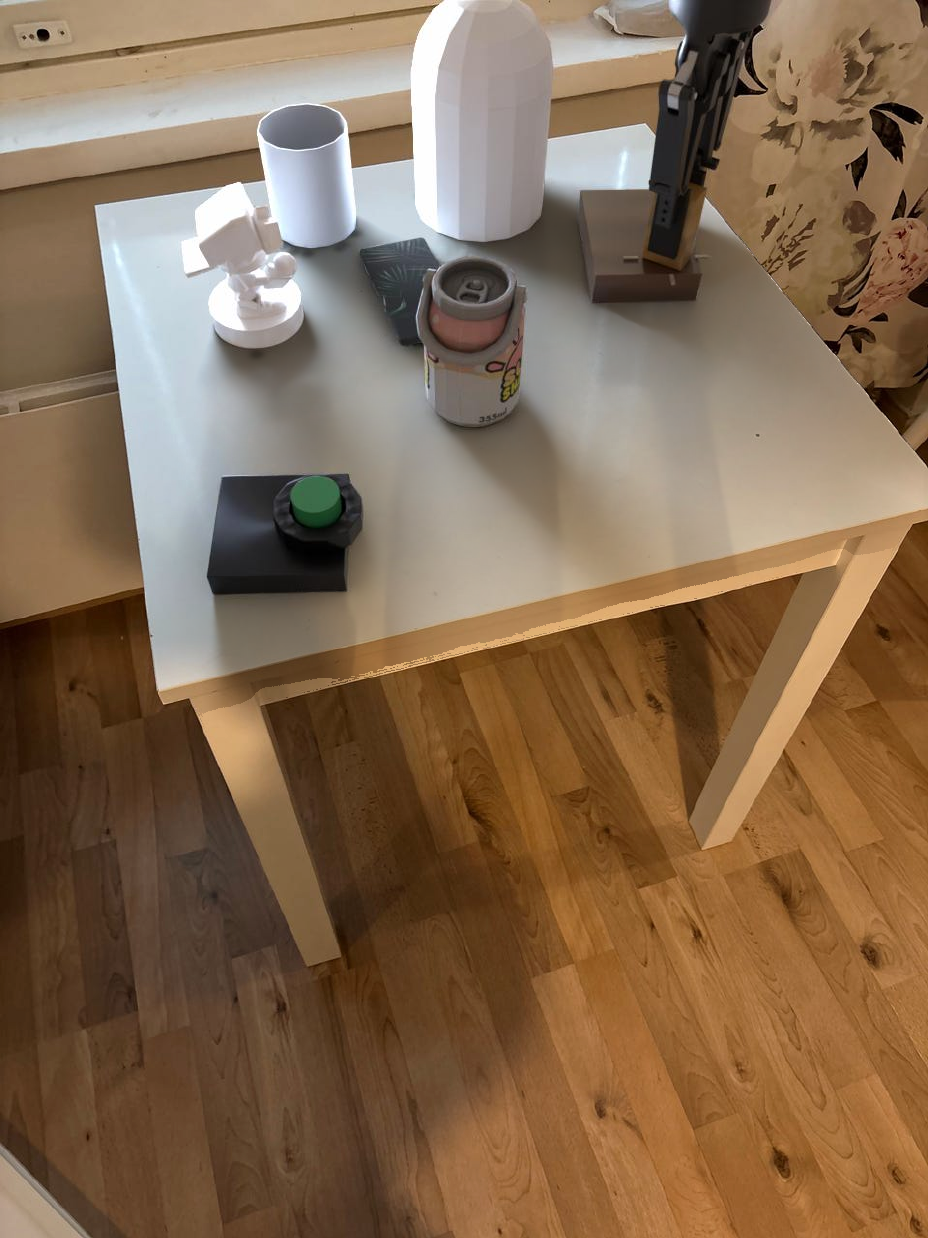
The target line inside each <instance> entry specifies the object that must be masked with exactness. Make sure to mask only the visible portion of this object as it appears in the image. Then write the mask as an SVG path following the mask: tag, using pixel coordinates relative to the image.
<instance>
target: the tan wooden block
mask: <svg viewBox="0 0 928 1238" xmlns="http://www.w3.org/2000/svg"><path fill="white" fill-rule="evenodd" d="M688 188H689V189H692V190H691V194H690V199H689V203H688V208H687V213H686V217H685V222H684V227H683V231H682V236H681V241H680V245H679V250H678V255H677V257H676V258H675V259H674V260H672V259H670V258H667V257H664V256H661V255H658V254H656V253H653V252H650V251H647V248H648V243H649V237H650V232H651V227H652V221H653V216H654V210H655V205H656V200H657V194H658V193H655V192H654V193H653V199H652V204H651V210H650V215H649V221H648V226H647V232H646V237H645V243H644V248H643V254H642V257H643V258H645V259H648V260H651V261H654V262H657V263H659V264H662V265H665V266H668V267H671V268H673V269H676V270H679V271H681V270H682V268H683V267H684V266H685V265H686V263H687V262H688V261H689V260H690V258H691V257H692V252H693V248H694V246H695V244H696V239H697V235H698V230H699V226H700V222H701V217H702V213H703V209H704V205H705V200H706V196H707V191H708V187H706V186H700V185H697V184H694V183H690V182H689V184H688Z"/></svg>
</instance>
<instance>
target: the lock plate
mask: <svg viewBox="0 0 928 1238" xmlns="http://www.w3.org/2000/svg"><path fill="white" fill-rule="evenodd" d="M653 193H654V192H652V191H649V188H648V189H647V188H641V189H639V188H638V189H636V188H635V189H633V188H632V189H631V188H630V189H629V188H628V189H580V190H579V196H578V197H579V198H578V207H577V213H576V214H577V216H576V218H577V223H578V224H577V225H578V228H579V229H578V231H579V235H580V241H581V248H582V253H583V259H584V265H585V270H586V277H587V282H588V288H589V295H590V299H591V303H639V302H640V303H641V302H642V303H643V302H644V303H645V302H646V303H647V302H695V301H697V298H698V293H699V290H700V286H701V282H702V277H703V271H702V268H701V263H700V261H699V259H700V260H701V259H711V255H710V254H697V250H696V246H695V245H694V248H693V252H692V257H691V258H690V260H689V261H688V262H687V263H686V265H685V266H684V267H683V268H682V270H681V271H679V270H676V269H673V268H671V267H668V266H665V265H662V264H659V263H657V262H654V261H651V260H648V259H645V258H643V257H642V254H643V248H644V243H645V237H646V232H647V226H648V221H649V215H650V210H651V204H652V199H653Z"/></svg>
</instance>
